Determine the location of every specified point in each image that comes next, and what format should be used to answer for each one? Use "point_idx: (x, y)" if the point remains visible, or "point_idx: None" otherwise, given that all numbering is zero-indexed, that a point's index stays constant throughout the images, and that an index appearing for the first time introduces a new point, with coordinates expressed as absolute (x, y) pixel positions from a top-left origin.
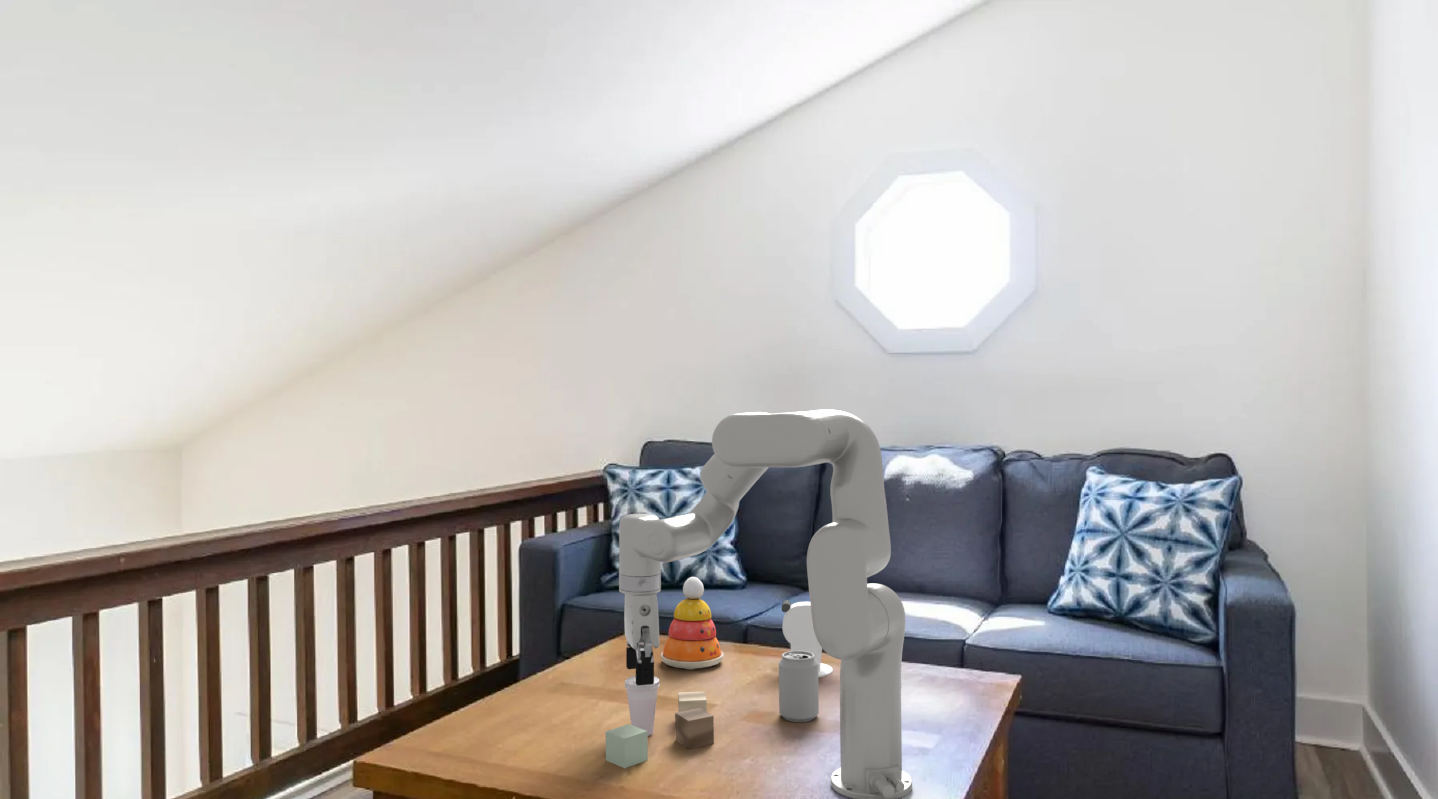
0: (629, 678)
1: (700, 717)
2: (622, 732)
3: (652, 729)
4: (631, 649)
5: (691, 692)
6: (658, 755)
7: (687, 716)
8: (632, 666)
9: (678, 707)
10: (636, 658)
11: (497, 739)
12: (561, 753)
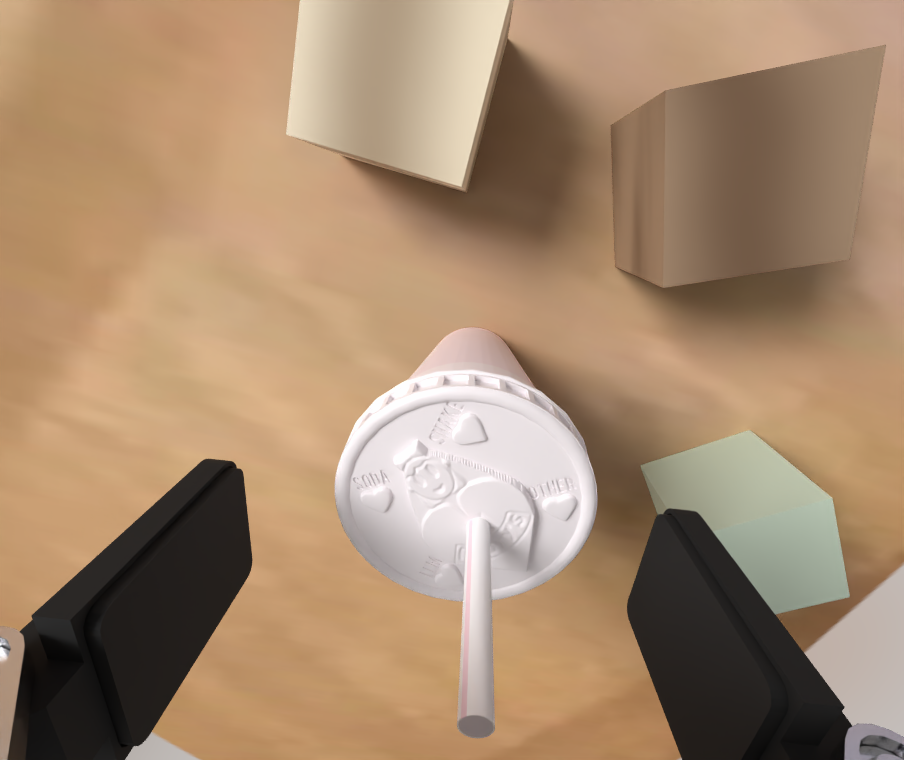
0: (379, 557)
1: (850, 159)
2: (773, 584)
3: (502, 341)
4: (135, 717)
5: (306, 27)
6: (734, 383)
7: (774, 238)
8: (239, 551)
9: (327, 149)
10: (197, 579)
11: (365, 708)
12: (540, 621)
